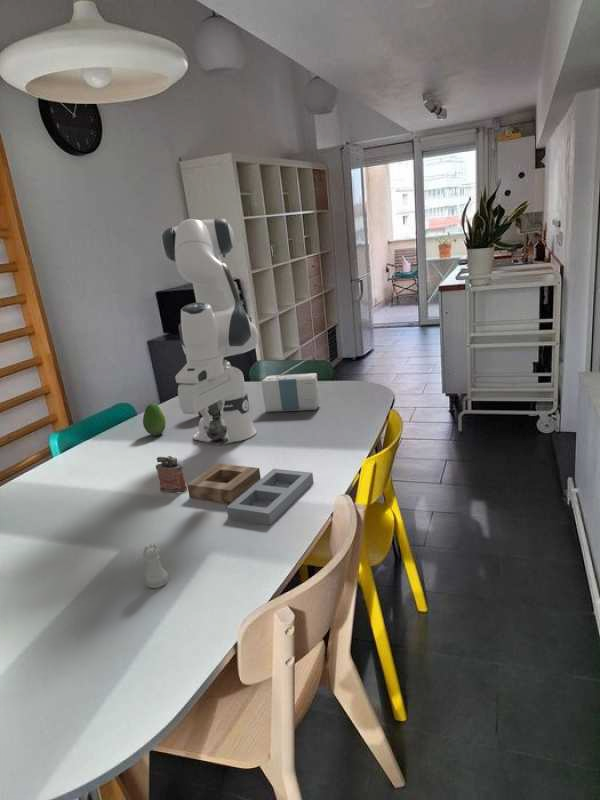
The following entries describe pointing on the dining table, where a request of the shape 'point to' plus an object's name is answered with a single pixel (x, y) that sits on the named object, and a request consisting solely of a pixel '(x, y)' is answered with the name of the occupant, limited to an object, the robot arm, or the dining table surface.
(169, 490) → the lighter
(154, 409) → the avocado
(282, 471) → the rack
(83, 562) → the dining table surface
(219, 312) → the robot arm
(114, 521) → the dining table surface
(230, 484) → the socket block
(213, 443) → the grey chess piece
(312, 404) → the teal banded white box
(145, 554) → the rook chess piece
